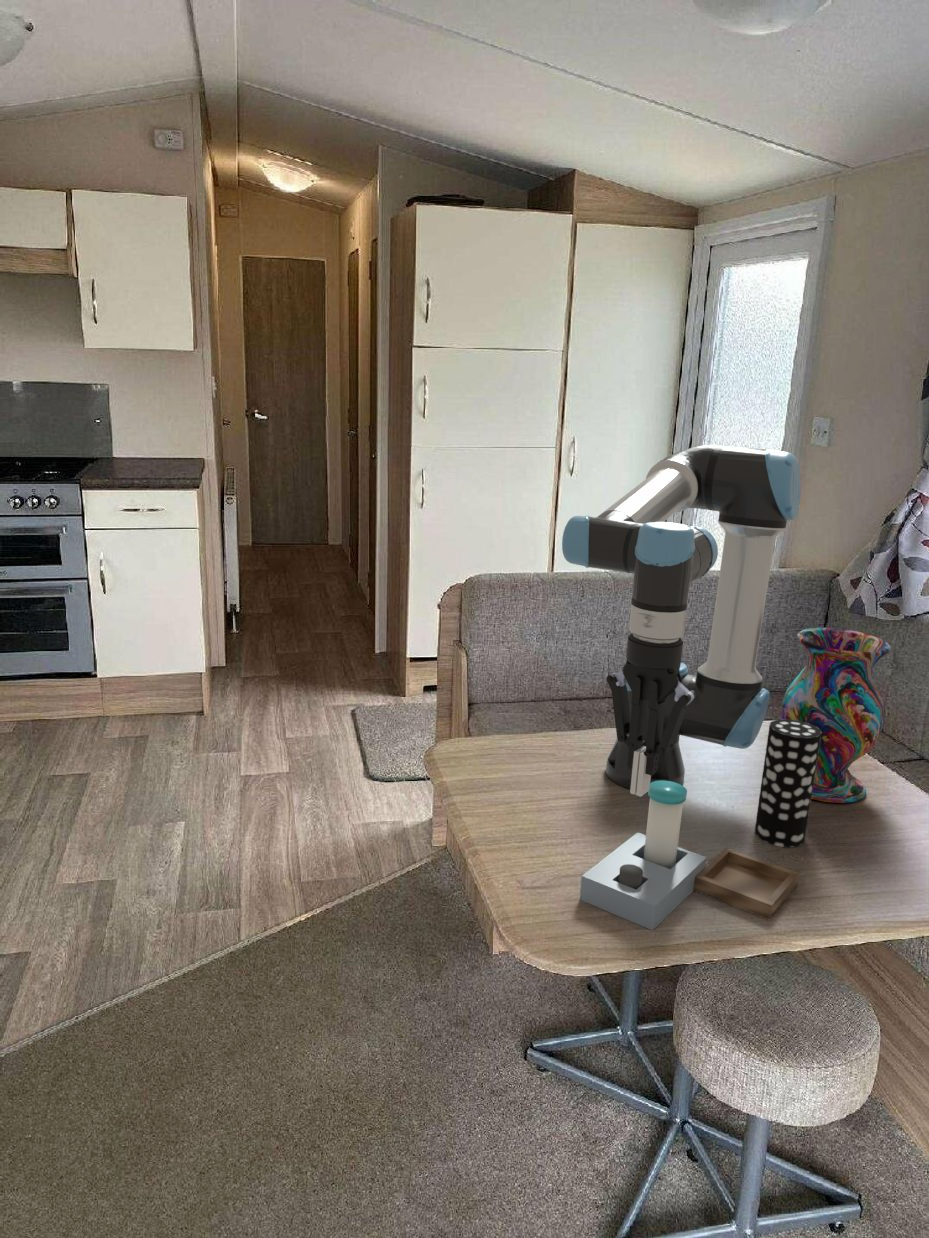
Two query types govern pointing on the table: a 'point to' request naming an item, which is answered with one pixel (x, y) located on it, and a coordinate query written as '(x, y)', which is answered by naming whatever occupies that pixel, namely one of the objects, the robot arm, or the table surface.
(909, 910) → the table surface
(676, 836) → the ball
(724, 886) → the tray
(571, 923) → the table surface
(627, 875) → the plunger
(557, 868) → the table surface
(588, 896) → the housing
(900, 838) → the table surface
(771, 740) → the spotted tube
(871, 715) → the vase
